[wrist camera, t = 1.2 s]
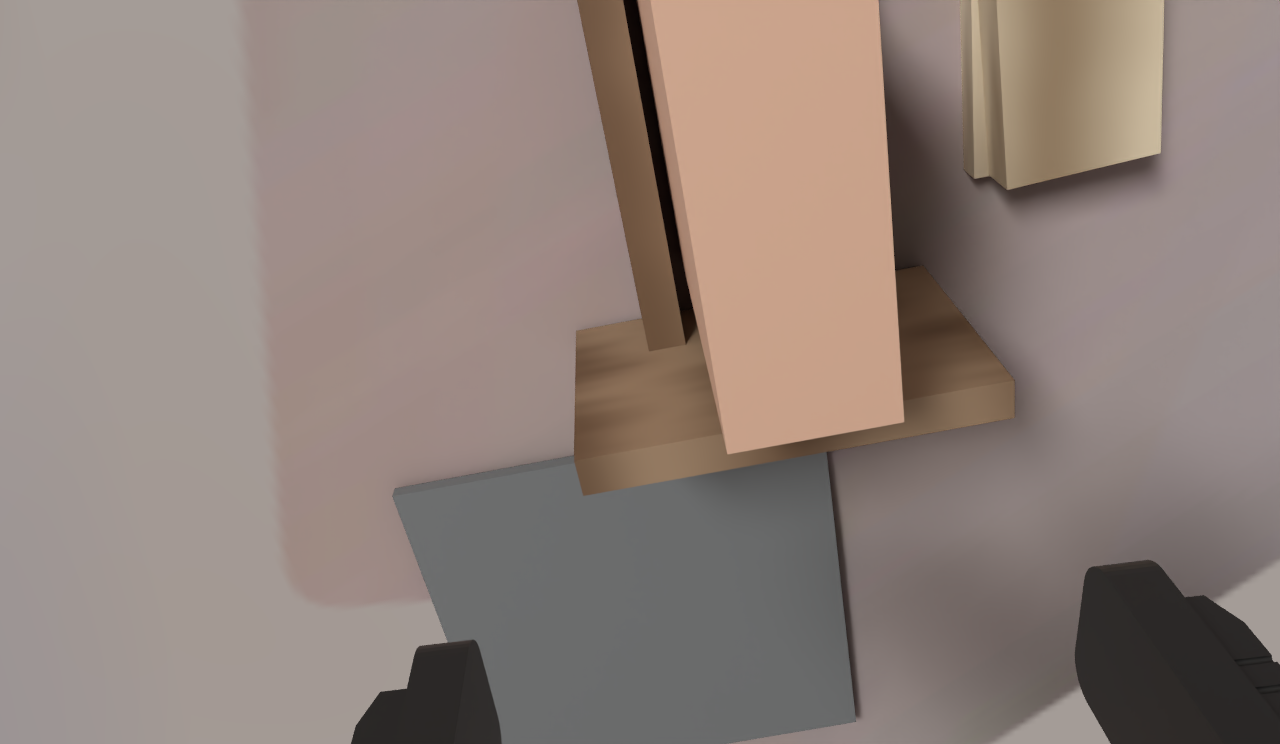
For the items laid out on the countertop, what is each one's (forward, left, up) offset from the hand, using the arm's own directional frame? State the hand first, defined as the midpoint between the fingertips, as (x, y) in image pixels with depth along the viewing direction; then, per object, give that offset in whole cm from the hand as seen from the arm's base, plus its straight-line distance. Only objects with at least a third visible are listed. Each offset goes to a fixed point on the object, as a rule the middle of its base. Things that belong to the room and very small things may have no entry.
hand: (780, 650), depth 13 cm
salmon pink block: (-2, -2, -21) cm, 21 cm away
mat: (+4, +18, -21) cm, 28 cm away
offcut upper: (-12, -2, -20) cm, 23 cm away
